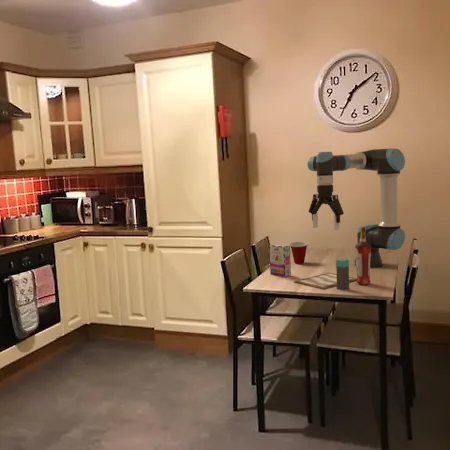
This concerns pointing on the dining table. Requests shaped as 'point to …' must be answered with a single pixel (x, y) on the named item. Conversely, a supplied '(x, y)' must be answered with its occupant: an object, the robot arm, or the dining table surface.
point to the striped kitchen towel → (322, 281)
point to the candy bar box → (280, 260)
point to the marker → (342, 274)
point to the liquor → (363, 259)
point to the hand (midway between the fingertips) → (325, 228)
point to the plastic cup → (299, 251)
